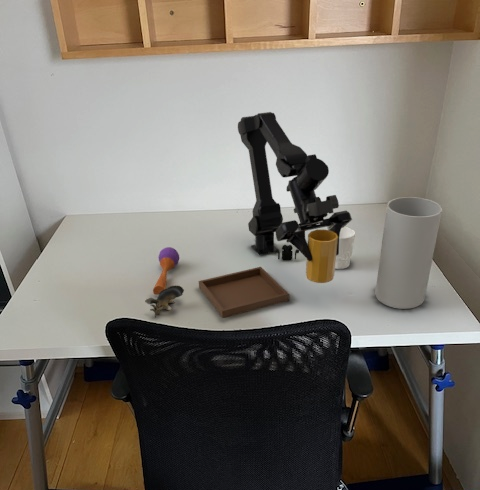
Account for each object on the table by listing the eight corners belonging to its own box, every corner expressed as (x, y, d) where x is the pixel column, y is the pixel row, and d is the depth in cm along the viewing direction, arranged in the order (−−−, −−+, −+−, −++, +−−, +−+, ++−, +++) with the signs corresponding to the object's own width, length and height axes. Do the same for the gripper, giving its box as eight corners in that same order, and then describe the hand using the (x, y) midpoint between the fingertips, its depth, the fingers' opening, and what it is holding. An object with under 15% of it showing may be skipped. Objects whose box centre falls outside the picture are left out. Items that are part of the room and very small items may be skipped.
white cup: (351, 271, 152) (354, 239, 147) (323, 269, 154) (325, 237, 148) (352, 258, 159) (355, 227, 153) (325, 256, 160) (327, 225, 155)
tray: (199, 290, 145) (198, 281, 144) (260, 275, 152) (260, 266, 150) (222, 320, 133) (222, 311, 131) (288, 303, 139) (289, 293, 137)
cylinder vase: (366, 289, 144) (377, 200, 130) (407, 282, 146) (423, 194, 133) (389, 313, 134) (404, 220, 120) (433, 305, 136) (453, 213, 123)
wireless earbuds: (275, 261, 158) (275, 245, 156) (275, 257, 160) (275, 242, 158) (298, 261, 158) (299, 246, 155) (298, 257, 160) (299, 242, 157)
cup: (301, 279, 134) (304, 238, 128) (312, 267, 139) (314, 227, 133) (327, 285, 131) (331, 244, 125) (337, 273, 136) (341, 232, 130)
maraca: (145, 283, 141) (157, 245, 156) (152, 301, 144) (163, 262, 160) (166, 280, 140) (177, 241, 155) (173, 298, 143) (182, 259, 159)
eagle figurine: (173, 318, 132) (191, 296, 137) (155, 297, 129) (173, 274, 135) (155, 325, 137) (172, 302, 143) (137, 304, 134) (155, 282, 140)
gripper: (281, 190, 123) (302, 253, 120) (351, 178, 128) (372, 238, 126) (267, 210, 133) (285, 269, 131) (332, 199, 139) (351, 254, 137)
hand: (324, 257), depth 131 cm, fingers closed on cup, 7 cm apart
